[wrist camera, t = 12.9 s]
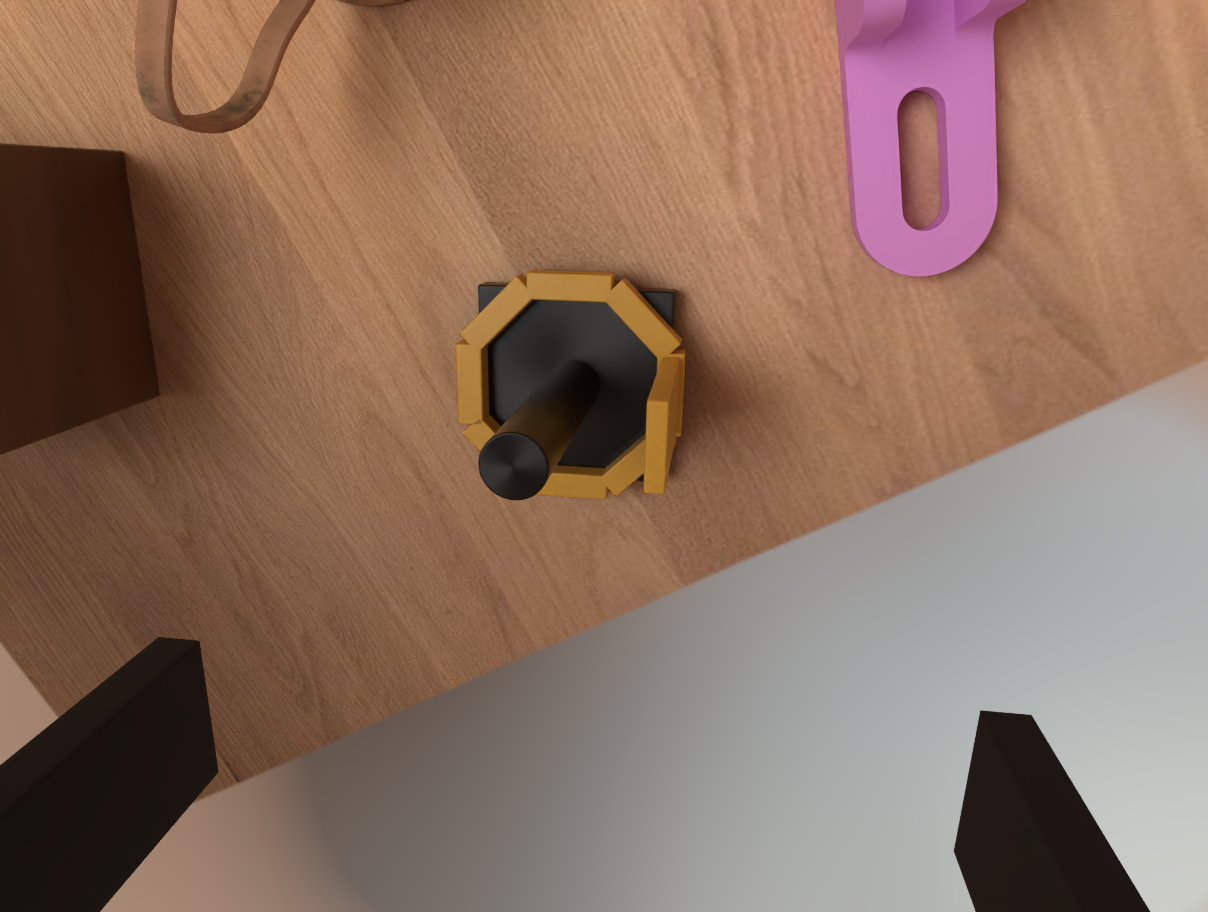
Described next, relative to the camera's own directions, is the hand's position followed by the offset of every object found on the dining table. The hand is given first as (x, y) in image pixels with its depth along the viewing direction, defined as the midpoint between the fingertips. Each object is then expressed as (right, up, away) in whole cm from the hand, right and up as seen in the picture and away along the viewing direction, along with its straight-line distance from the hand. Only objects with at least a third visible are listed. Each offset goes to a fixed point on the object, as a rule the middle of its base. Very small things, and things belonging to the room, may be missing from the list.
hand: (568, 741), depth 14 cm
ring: (-1, +8, +25) cm, 26 cm away
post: (-1, +8, +26) cm, 27 cm away
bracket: (+13, +19, +21) cm, 31 cm away
